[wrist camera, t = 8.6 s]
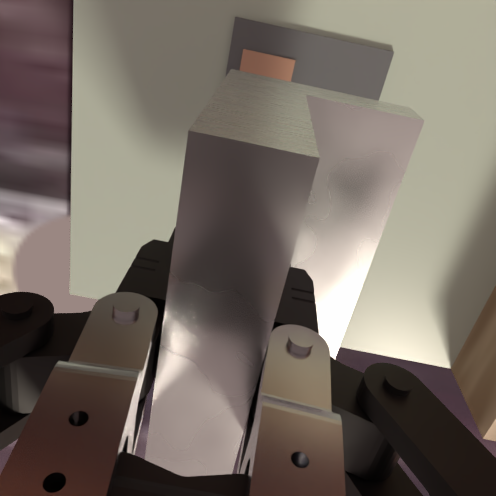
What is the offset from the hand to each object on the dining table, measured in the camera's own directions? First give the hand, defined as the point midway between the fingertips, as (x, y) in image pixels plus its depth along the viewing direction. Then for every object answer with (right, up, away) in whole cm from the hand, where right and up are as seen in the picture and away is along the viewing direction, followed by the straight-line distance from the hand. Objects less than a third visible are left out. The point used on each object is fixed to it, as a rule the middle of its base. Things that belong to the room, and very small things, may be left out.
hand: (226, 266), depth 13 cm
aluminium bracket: (+2, +1, +2) cm, 3 cm away
